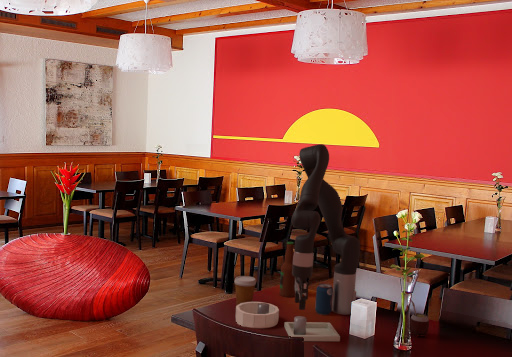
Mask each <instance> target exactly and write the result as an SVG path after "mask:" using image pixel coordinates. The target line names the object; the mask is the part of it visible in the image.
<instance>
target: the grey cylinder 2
mask: <svg viewBox="0 0 512 357" xmlns="http://www.w3.org/2000/svg"><path fill="white" fill-rule="evenodd" d="M293 320H294V321H293V322H294V335H306V322H307V320H308V319H307V317H305V316H301V315H297V316H294V319H293Z"/></svg>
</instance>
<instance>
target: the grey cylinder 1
mask: <svg viewBox="0 0 512 357" xmlns="http://www.w3.org/2000/svg"><path fill="white" fill-rule="evenodd" d="M269 304H270V303H269ZM269 304H267V302H263V303H258V309H257V314H268V313H269Z"/></svg>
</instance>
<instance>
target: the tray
mask: <svg viewBox="0 0 512 357" xmlns="http://www.w3.org/2000/svg"><path fill="white" fill-rule="evenodd" d="M283 324H284V329H285V331H286V333H287V335H288V337H289V336H291V337H303V338H304V341H303V342H341V336H340V334H339V333H338V332H337V330H336V329H335V327H334V326H333V325H332V324H331V322H322V321H321V322H320V321H319V322H317V321H316V322H310V321H309V322H307V321H306V335H294V321H291V322H290V321H285V322H284V323H283Z"/></svg>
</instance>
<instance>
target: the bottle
mask: <svg viewBox="0 0 512 357" xmlns="http://www.w3.org/2000/svg"><path fill="white" fill-rule="evenodd" d="M294 248H295V242H293V241H286V250H285V255H284V262H283V264H282V265H281V267H280V280H279V295H280V296H281V297H284V298H293V297H295V293H296V292H295V290H294V284H295V277H294V276H293V275H292V267H293V255H294Z"/></svg>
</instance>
